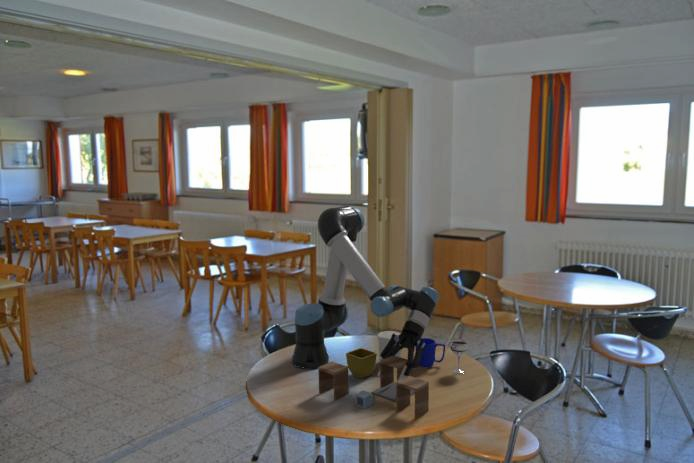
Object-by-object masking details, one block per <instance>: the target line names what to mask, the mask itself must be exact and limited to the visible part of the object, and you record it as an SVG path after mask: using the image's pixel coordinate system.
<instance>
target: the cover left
mask: <svg viewBox="0 0 694 463" xmlns="http://www.w3.org/2000/svg"><path fill="white" fill-rule="evenodd" d="M317 369H318V370H317V371H318V394H319V395H323V394H324V393H326V391H327V392H328V391H330V390H333V400H334V401H336V400H339V399H341V398H343V397H345V396H347V395H349V394H350V392H349V391H350V390H349V389H350V388H349V386H350V384H349V368H348V365H344V364H341V363H337V362H335V361H329V362H328V363H327V364H325V365H322V366H320V367H318V368H317Z"/></svg>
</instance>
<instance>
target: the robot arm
mask: <svg viewBox="0 0 694 463" xmlns="http://www.w3.org/2000/svg"><path fill="white" fill-rule="evenodd" d="M364 226H365V217H364V215H363V213H362V211H361V210H360V209H359V208H358V207H356V206H353V205H343V206H338V207H330V208H327V209H325V210H324V211H322V212H321V214H320V215H319V216H318V219H317V230H318V233H319V235H320V237H321V239H322V241H323V243H324V244H325V245H326V247H327V248H329V255H328V260H327V265H326V266H327V267H326V273H325V279H324V284H323V285H324V286H323V292H322V294H321V293H320V295H318V301H317V303H316V302H315V303H314V302H312V303H308V304H307V303H306V304H302V305H300V306H299V307H297V308H296V310H295V313H294V327H295V330H294V331H295V346H294V350H293V354H292V357H291V364H292V363H293V364H294V365H296V366H299V367H304V368H303V369H305V368H313V369H318V367H320V366H322V365H325V364H327V363H329V362H330V360H329V359H330V358H329V356H330V355H329V353H328V351H327V348H326V345H325V333H327V332H329V331H332V330H333V329H337V328H339V327H341V326H342V325H343V324H344V323H346V321H347V320H348V317H349V307H347V306H348V305H347V302H346V299H345V297H344V293H345V292H344V291H345V288H346V287H345V285H346V280H347V274H348V272H349V274H351V276H352V278H353V279H354V280H355V282H356V283H357V285H358V286H359V287H360V289H361V290H362V291H363V292H364V293H365V295H366V296H367V298H368V299H369V301H370V305H369V307H370V311H371V313H372V314H373V315H375V316H376V317H378V318H383V317H386V316H389V315H390V316H391V315H392V314H393V313H395V312H397V311H400V310H402V309H407V310H410V312H409V315H408V316H407V318H406V321H405V323H404V325H403V326H402V330H401V332H400V333H401V334H400V335H395V334H392V337H391V339H390V341H389V342H388V344H387V345H386V347H385V348H384V350H383V351H382V353H381V354H380V356H381V357H382V358H383V359H385V358H387V357H389V356H392V355H393V356H395V355H396V354H397V353H398V352H399V351H400V350H401V351H402V350H403V349H407V360H408V361H407V365H408V366H406V365H405V366H404V368H403V370H402V372H401V375H400V377H399V379H398V381H400V380H401V379H403V378H405V377H407V376H409V374H410V375H411V372H412V370H413V369H415V370H417V369H419V367H420V366H419V363H420V359H421V355H422V351H423V349H424V347H425V346H426V344H425V343H424V342H423V341H420V338H423V335H424V332H425V329H426V328H427V326H428V324H429V321H430V319H431V317H432V314H433V312H434V310H435V309H436V307H437V305H438V301H439V299H440V295H439V292H438V291H437V290H436V289H434V288H433V287H431V286H423V287H422V288H420V290H415V289H410V288H408V287H404V286H401V285H397V284H396V285H395V284H393V285H390V286H389V287H388V289H387V287H386V285H385V284H383V282H382V280H381V279H380V278H379V277H378V275H377V274H376V273H375V271H374V270H373V268H372V267H371V266H370V264H369V263H368V262H367V261H366V259H365V258H364V256H363V255H362V253H360V251H359V250H358V249H357V247H356V246H355V244H354V243H355V242H357V238H358V233H360V232H361V230H363V228H364ZM398 339H399V341H398ZM397 341H398V342H397ZM396 342H397V343H396ZM395 344H396V345H395ZM417 344H418V346H417V349H416V350H415V346H416V345H417ZM394 345H395V346H394ZM400 345H401V346H400ZM293 364H292V365H293ZM294 365H293V366H294ZM296 366H295V367H296ZM299 367H298V368H299ZM376 376H377V377H378V378H380V370H379V371H378V373H377V375H376ZM398 381H397V380H396V382H398Z"/></svg>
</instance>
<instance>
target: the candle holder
mask: <svg viewBox="0 0 694 463" xmlns="http://www.w3.org/2000/svg"><path fill="white" fill-rule="evenodd" d="M401 333H402V332H398V331H395V330H385V331H380V332H378V334H377V340H378V353H379V354H378V356H379V357H378V358H379V362H380V361H381V360H383V358H382V357H381V356H380V354H381V353H382V351H383V350H384V348H385V347H386V345H387V344H388V342H389V341H390V339H391V337H392V334H395V335H400V334H401ZM398 341H399V339H398ZM398 341H397V342H398ZM397 342H396V343H397ZM395 345H396V344H395ZM395 345H394V346H395ZM400 346H401V345H400ZM395 356H397V357H400V358H402V357H401V356H402V350H400V351H399V352H398V353H397V354H396V355H395Z"/></svg>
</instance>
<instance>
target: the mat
mask: <svg viewBox="0 0 694 463" xmlns="http://www.w3.org/2000/svg"><path fill="white" fill-rule="evenodd" d="M371 394H372V395H376V396H379V397H382V398H385V399H388V400H390V401H394V402H396V382H395V381H394V382H392V383H391V384H389V385H387V386H385V387H383V388H380V387H378V388H377V389H376V388H375V389H374V390H373V391H371ZM412 395H415V391H413V390H410V397H411V396H412Z"/></svg>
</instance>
